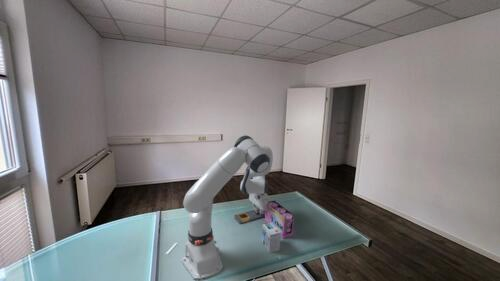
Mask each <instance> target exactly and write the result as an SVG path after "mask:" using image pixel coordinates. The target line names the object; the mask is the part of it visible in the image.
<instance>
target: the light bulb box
mask: <svg viewBox="0 0 500 281" xmlns="http://www.w3.org/2000/svg"><path fill="white" fill-rule="evenodd" d="M261 227H262V231H261V242H262V244H263V246H264V247H265V248H266V250H267V252H268V253H269V254H271V253H273V252H274V253H275V252H278V251H281V238H282V237H281V232H280V231H279V230H278V229H277V227H276V226H275V225H274V224H273V223H268V222H267V223H262V226H261Z"/></svg>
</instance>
